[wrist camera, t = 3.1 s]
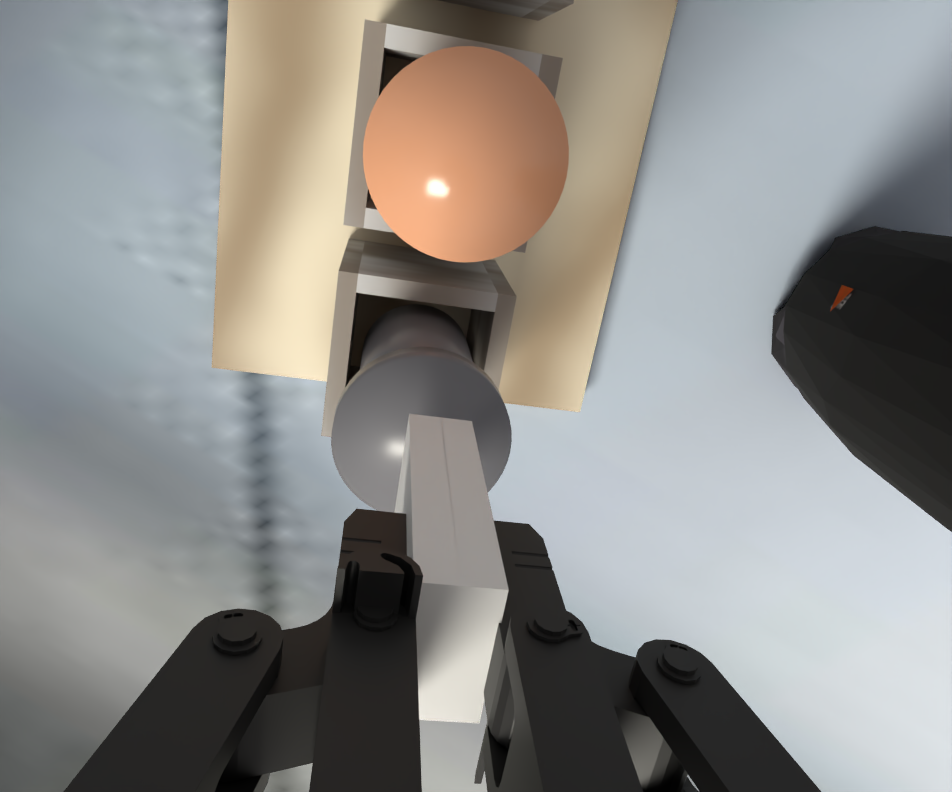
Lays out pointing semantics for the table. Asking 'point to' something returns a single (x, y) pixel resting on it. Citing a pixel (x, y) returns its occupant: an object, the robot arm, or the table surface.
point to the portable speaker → (879, 356)
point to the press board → (360, 224)
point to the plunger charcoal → (413, 401)
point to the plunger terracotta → (465, 154)
